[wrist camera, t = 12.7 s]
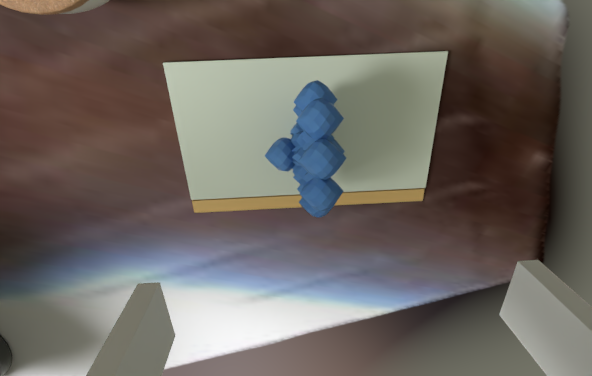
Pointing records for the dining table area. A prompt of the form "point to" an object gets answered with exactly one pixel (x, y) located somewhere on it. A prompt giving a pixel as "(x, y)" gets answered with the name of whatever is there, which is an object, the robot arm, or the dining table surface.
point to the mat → (281, 118)
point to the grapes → (312, 149)
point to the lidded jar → (52, 6)
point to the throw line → (293, 200)
